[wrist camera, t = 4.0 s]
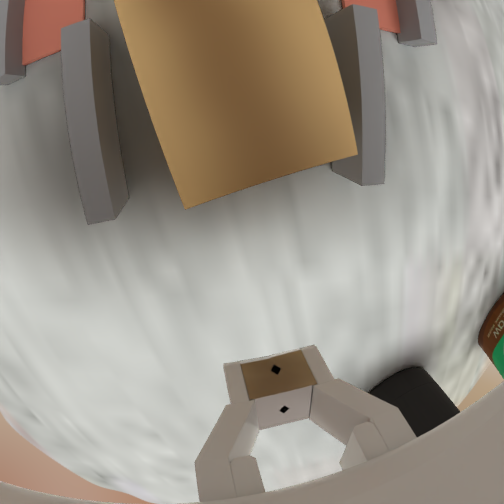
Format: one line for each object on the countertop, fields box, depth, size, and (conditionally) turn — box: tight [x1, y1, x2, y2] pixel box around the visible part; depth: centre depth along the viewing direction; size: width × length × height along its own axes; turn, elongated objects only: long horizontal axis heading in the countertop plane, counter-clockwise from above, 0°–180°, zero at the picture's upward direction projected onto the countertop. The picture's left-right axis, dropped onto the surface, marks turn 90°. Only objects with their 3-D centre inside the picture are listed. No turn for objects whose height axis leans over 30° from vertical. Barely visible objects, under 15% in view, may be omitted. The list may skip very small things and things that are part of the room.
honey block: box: [114, 0, 358, 210], centre depth 10 cm, size 6×8×5 cm
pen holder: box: [369, 368, 460, 437], centre depth 22 cm, size 9×9×10 cm
